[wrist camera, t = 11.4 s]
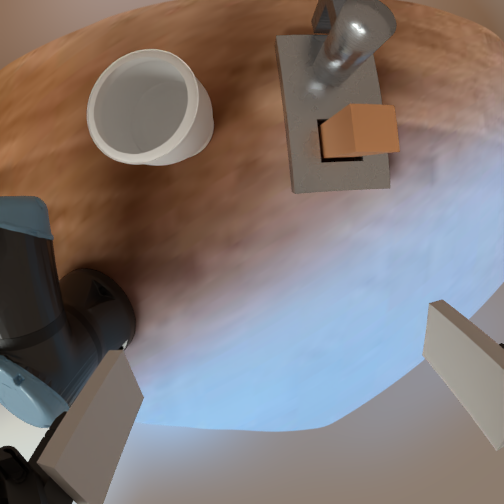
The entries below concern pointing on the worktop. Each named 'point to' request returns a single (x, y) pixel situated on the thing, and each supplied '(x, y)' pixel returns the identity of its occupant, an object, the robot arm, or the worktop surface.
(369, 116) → the orange square bar
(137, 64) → the jar
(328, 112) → the plate with square hole
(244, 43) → the worktop surface
